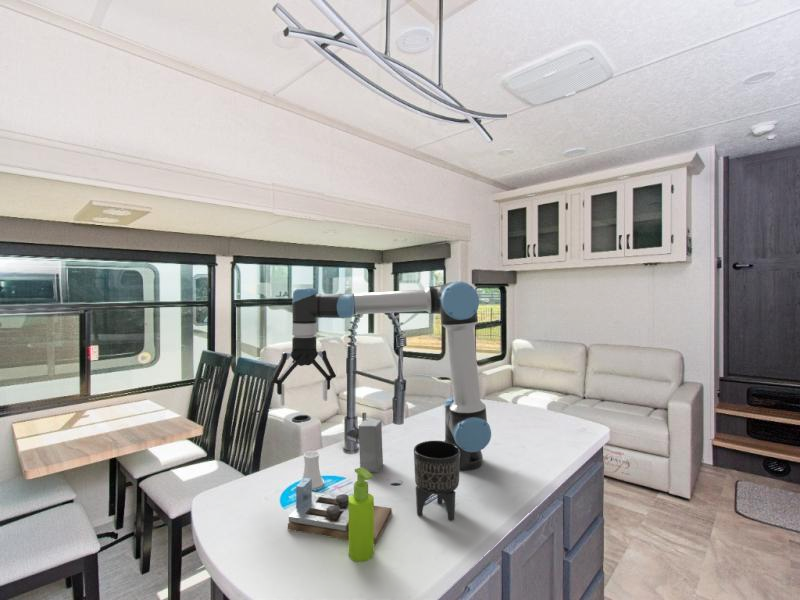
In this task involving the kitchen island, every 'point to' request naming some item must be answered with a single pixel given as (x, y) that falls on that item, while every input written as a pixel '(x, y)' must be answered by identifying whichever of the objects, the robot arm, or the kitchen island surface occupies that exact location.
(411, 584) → the kitchen island surface
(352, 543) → the soap dispenser
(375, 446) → the skincare box
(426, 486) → the planter
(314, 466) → the salt shaker
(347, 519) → the slider knob panel
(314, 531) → the board
